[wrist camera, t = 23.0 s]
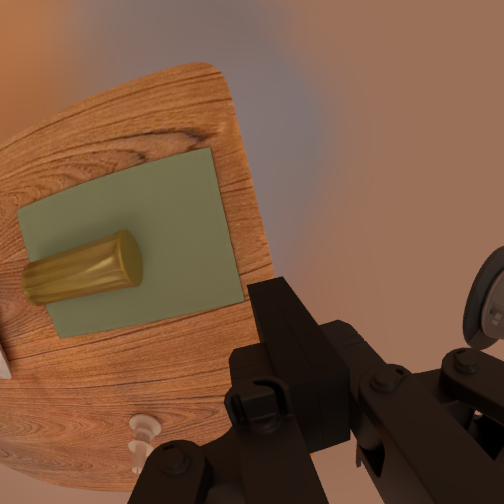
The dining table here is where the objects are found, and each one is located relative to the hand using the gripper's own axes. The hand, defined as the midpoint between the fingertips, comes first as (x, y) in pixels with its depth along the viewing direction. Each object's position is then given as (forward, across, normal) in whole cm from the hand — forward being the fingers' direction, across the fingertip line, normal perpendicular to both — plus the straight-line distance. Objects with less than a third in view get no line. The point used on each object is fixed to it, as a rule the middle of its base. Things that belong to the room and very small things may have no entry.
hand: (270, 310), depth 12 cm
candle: (+23, -20, -26) cm, 40 cm away
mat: (+22, -14, 0) cm, 26 cm away
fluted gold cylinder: (+18, -11, 0) cm, 21 cm away
